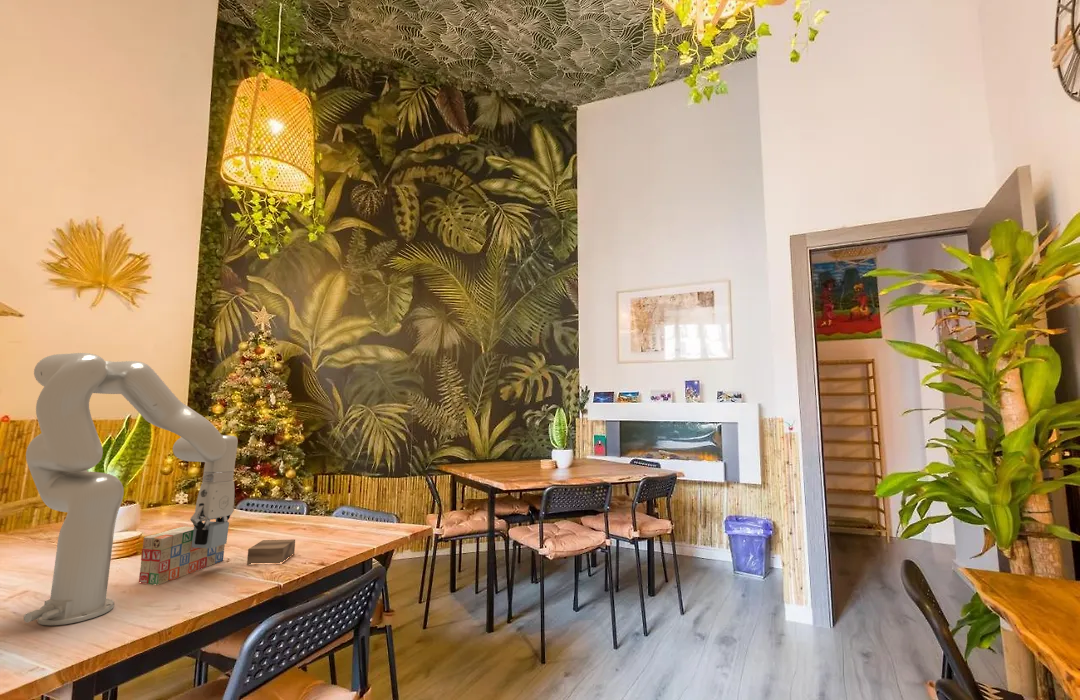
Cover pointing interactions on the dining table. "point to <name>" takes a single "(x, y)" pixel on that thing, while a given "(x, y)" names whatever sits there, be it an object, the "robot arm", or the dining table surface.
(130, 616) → the dining table surface
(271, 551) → the walnut block
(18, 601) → the dining table surface
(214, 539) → the grey cube
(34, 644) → the dining table surface
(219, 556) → the stack of blocks
